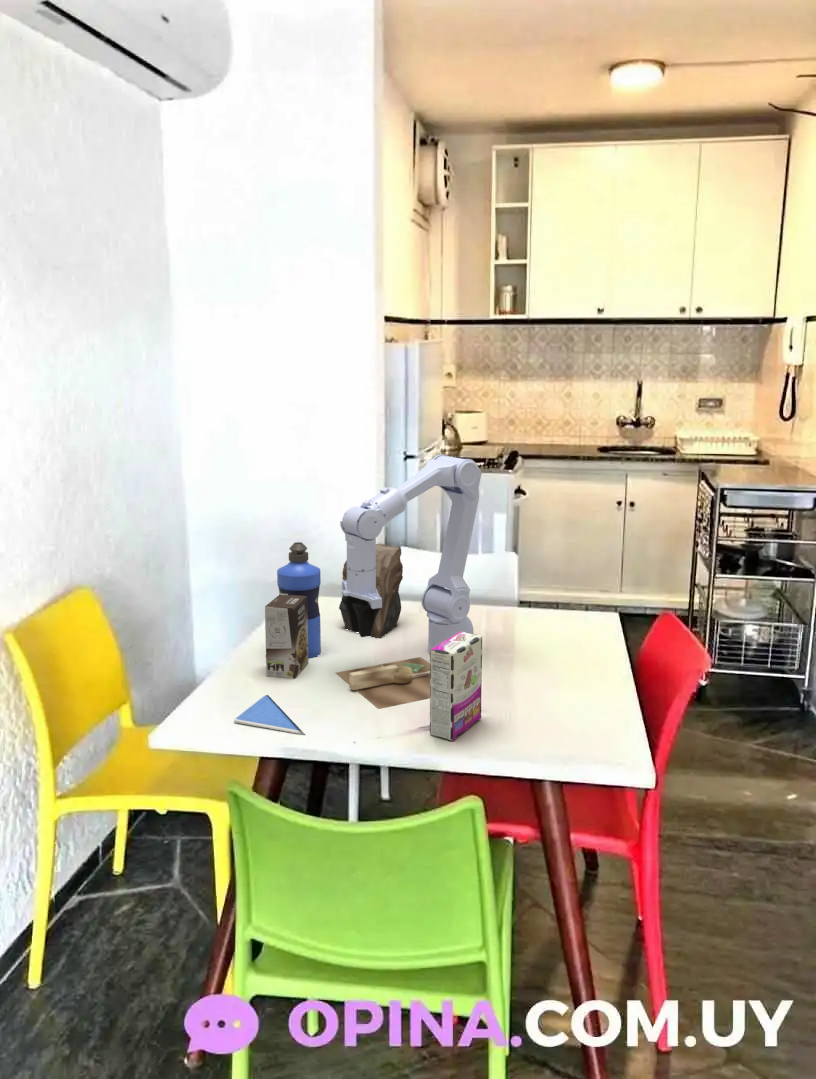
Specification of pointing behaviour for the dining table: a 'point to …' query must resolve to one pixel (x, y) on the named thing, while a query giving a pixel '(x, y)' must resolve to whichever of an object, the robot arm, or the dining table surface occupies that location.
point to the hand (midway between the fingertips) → (361, 633)
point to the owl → (383, 590)
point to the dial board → (396, 685)
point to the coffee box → (286, 636)
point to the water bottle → (303, 591)
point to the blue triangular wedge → (268, 716)
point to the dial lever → (382, 676)
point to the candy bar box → (455, 685)
